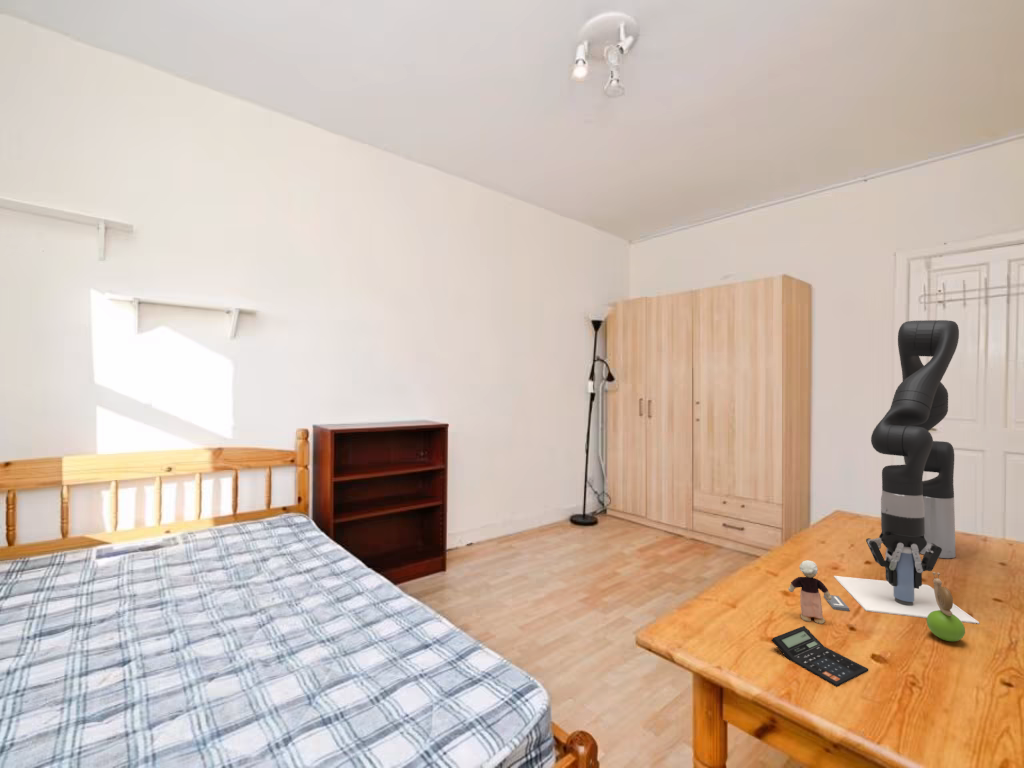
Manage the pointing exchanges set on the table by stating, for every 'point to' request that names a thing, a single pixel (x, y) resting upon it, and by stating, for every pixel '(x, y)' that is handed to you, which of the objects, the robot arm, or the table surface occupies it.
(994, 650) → the table surface
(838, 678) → the calculator
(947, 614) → the snail figurine
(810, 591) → the grandmother figurine
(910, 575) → the grey-blue cylinder
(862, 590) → the paper
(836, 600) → the letter card
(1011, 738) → the table surface
